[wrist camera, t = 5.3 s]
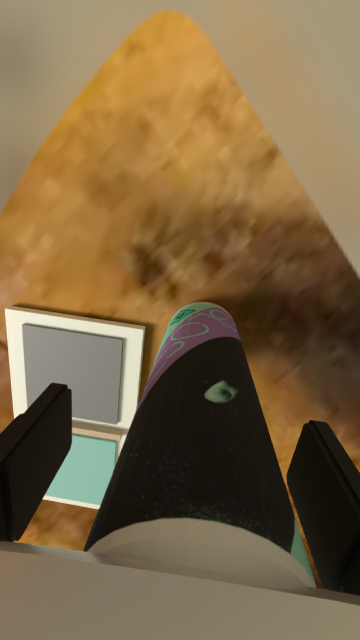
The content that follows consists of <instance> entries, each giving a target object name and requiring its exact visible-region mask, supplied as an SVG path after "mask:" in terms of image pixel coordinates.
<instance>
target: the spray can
mask: <svg viewBox="0 0 360 640" xmlns="http://www.w3.org/2000/svg"><path fill="white" fill-rule="evenodd" d="M83 552H90V553H97V554H103V555H110V556H117V557H124V558H131V559H137V560H144V561H150V562H157V563H163V564H170V565H176V566H183V567H189V568H196V569H202V570H209V571H215V572H222V573H228V574H234V575H240V576H247V577H253V578H259V579H265V580H272V581H278V582H284V583H290V584H296V585H303V586H309V587H314V588H317V587H316V584H315V581H314V578H313V574H312V571H311V568H310V564H309V561H308V558H307V555H306V551H305V548H304V545H303V542H302V538H301V535H300V532H299V529H298V525H297V522H296V519H295V516H294V512H293V509H292V506H291V503H290V499H289V496H288V493H287V490H286V486H285V483H284V480H283V477H282V473H281V470H280V467H279V464H278V460H277V457H276V454H275V451H274V447H273V444H272V441H271V438H270V434H269V431H268V428H267V425H266V421H265V418H264V415H263V412H262V408H261V405H260V402H259V399H258V395H257V392H256V389H255V386H254V382H253V379H252V376H251V373H250V369H249V366H248V363H247V360H246V356H245V353H244V350H243V347H242V343H241V340H240V337H239V334H238V330H237V327H236V324H235V322H234V320H233V318H232V317H231V315H230V314H229V313H228V312H227V311H226V310H225V309H224V308H222V307H221V306H219V305H217V304H214V303H210V302H202V301H201V302H193V303H190V304H187V305H185V306H184V307H182V308H181V309H179V310H178V311H177V312H176V313H175V314H174V316H173V317H172V319H171V321H170V323H169V325H168V327H167V330H166V333H165V335H164V338H163V340H162V343H161V346H160V348H159V351H158V354H157V356H156V359H155V362H154V364H153V367H152V370H151V372H150V375H149V378H148V380H147V383H146V386H145V388H144V391H143V394H142V396H141V399H140V401H139V404H138V407H137V409H136V412H135V415H134V417H133V420H132V423H131V425H130V428H129V431H128V433H127V436H126V439H125V441H124V444H123V447H122V449H121V452H120V455H119V457H118V460H117V462H116V465H115V468H114V470H113V473H112V476H111V478H110V481H109V484H108V486H107V489H106V492H105V494H104V497H103V500H102V502H101V505H100V508H99V510H98V513H97V516H96V518H95V521H94V523H93V526H92V529H91V531H90V534H89V537H88V539H87V542H86V545H85V547H84V550H83Z"/></svg>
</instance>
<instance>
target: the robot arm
mask: <svg viewBox="0 0 360 640" xmlns="http://www.w3.org/2000/svg"><path fill="white" fill-rule="evenodd" d="M71 445H72V390H71V389H68V386H67V385H66V384H59V383H51V384H50V385H49V386H48V387H47V388H46V389H45V390H44V391H43V392H42V393H41V395H40V396H39V397H38V398H37V399H36V400H35V401H34V402H33V403H32V404H31V406H30V407H29V408H28V409H27V410H26V411H25V412H24V413H22V414H19V415H18V416H17V417H16V418H15V419H14V420H13V421H12V422H11V423H10V424H9V425H8V426H7V427H6V429H5V430H4V431H3V432H2V433H1V434H0V640H360V473H359V471H358V470H357V468H356V467H355V465H354V464H353V462H352V461H351V459H350V457H349V456H348V454H347V453H346V451H345V450H344V448H343V447H342V445H341V443H340V442H339V440H338V439H337V437H336V436H335V434H334V433H333V431H332V430H331V428H330V426H329V425H328V424H327V423H326V422H320V421H313V420H310V421H309V422H308V423H305V424H304V426H303V429H302V432H301V434H300V437H299V440H298V443H297V446H296V449H295V452H294V455H293V458H292V460H291V463H290V466H289V469H288V472H287V484H288V487H289V490H290V493H291V496H292V499H293V502H294V505H295V507H296V510H297V513H298V516H299V519H300V522H301V525H302V528H303V531H304V534H305V537H306V540H307V543H308V545H309V548H310V551H311V554H312V557H313V560H314V563H315V566H316V569H317V572H318V575H319V578H320V581H321V583H322V585H323V587H324V588H326V589H328V590H325V589H320V588H314V587H309V586H303V585H296V584H290V583H284V582H278V581H272V580H265V579H259V578H253V577H247V576H240V575H234V574H228V573H222V572H215V571H209V570H202V569H196V568H189V567H183V566H176V565H170V564H163V563H157V562H150V561H144V560H137V559H131V558H124V557H117V556H110V555H103V554H97V553H90V552H83V551H76V550H70V549H63V548H55V547H48V546H40V545H32V544H24V543H16V542H13V541H14V540H15V541H18V540H19V539H20V538H21V536H22V535H23V533H24V531H25V530H26V528H27V526H28V524H29V522H30V521H31V519H32V517H33V515H34V513H35V512H36V510H37V508H38V506H39V505H40V503H41V501H42V499H43V497H44V496H45V494H46V492H47V490H48V489H49V487H50V485H51V483H52V481H53V480H54V478H55V476H56V474H57V472H58V471H59V469H60V467H61V465H62V464H63V462H64V460H65V458H66V456H67V455H68V453H69V451H70V449H71Z"/></svg>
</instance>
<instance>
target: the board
mask: <svg viewBox="0 0 360 640" xmlns="http://www.w3.org/2000/svg"><path fill="white" fill-rule="evenodd" d="M5 316H6V328H7V339H8V351H9V363H10V375H11V386H12V398H13V410H14V419H15V418H16V417H17V416H18V415H19V414H22V413H24V412H25V411H26V410H27V409H28V408H29V407H30V406H31V404H32V403H33V402H34V401H35V400H36V399H37V398H38V397H39V396H40V395H41V393H42V392H43V391H44V390H45V389H46V388H47V387H48V386H49V385H50V384H51V383H59V384H66V385H67V386H68V389H71V390H72V445H71V449H70V451H69V453H68V455H67V456H66V458H65V460H64V462H63V464H62V465H61V467H60V469H59V471H58V472H57V474H56V476H55V478H54V480H53V481H52V483H51V485H50V487H49V489H48V490H47V492H46V494H45V496H44V497H43V499H45V500H51V501H56V502H62V503H67V504H73V505H78V506H84V507H89V508H95V509H99V508H100V505H101V502H102V500H103V497H104V494H105V492H106V489H107V486H108V484H109V481H110V478H111V476H112V473H113V470H114V468H115V465H116V462H117V460H118V457H119V455H120V452H121V449H122V447H123V444H124V441H125V439H126V436H127V433H128V431H129V428H130V425H131V423H132V420H133V417H134V415H135V412H136V409H137V407H138V402H139V391H140V381H141V370H142V359H143V348H144V338H145V327H146V326H141V325H134V324H127V323H121V322H114V321H108V320H101V319H95V318H88V317H82V316H75V315H68V314H62V313H55V312H49V311H42V310H36V309H29V308H23V307H16V306H10V307H8V308H5Z"/></svg>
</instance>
